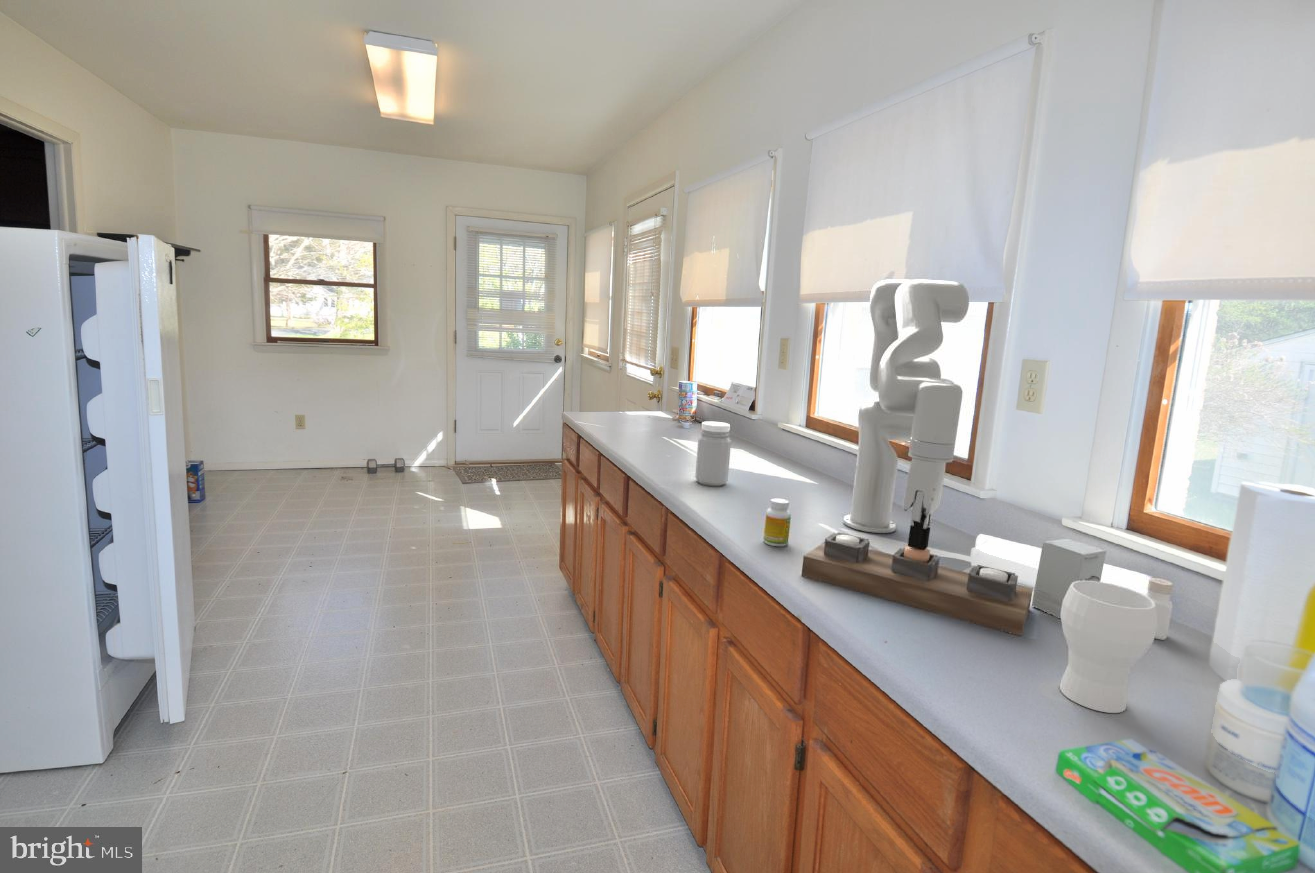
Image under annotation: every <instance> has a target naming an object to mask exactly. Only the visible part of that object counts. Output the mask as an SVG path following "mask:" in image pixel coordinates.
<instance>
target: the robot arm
mask: <svg viewBox="0 0 1315 873" xmlns="http://www.w3.org/2000/svg"><path fill="white" fill-rule="evenodd" d="M968 292H969V291H968V289H967V288H966V287H965V285H964V284H963V283H961V282H958V281H952V280H951V281H950V280H933V279H899V278H898V279H896V278H895V279H894V278H892V279H884V280H880V281H877V283H875V284H874V285H873V287H872V288H871V292H870V299H869V310H870V317H871V321H872V325H873V333H874V334H873V335H874V338H873V346H872V347H873V348H872V355H871V362H870V370H869V371H870V372H869V386H870V388H871V390H873V391H874V392H876V393H878V394H877V395H878V398H877V399H870V400H867V401H865V402H864V403H862V405H860V407H859V409H858V414H857V416H858V417H857V418H858V419H857V420H858V421H857V422H858V444H857V445H858V447H857V456H856V464H855V465H856V466H855V472H854V474H855V475H854V482H853V489H852V498H851V499H852V500H851V504H850V506H851V507H850V513H849V514H847V515H844V516H843V517H842V518H843V520H842V521H843V524H844V525H845V526H847V527H849V528H851V529H854V530H858V531H862V532H867V533H873V534H875V533H876V534H890V533H893V532H895V531H896V528H897V524H896V523H895V522H893V521H892V520H891V519H892V518H891V516H892V511H893V502H894V495H895V489H896V488H895V487H896V486H895V485H896V479H897V473H898V472H897V471H898V464H899V461H898V460H899V459H898V458H899V457H898V454H897V452H896V451H895V449H894V448H893V447H892V444H890V441H903V442H909V448H908V454H907V455H908V457H909V458H911V462H910V465H909V470H908V472H907V473H908V474H907V478H906V485H905V490H904V495H903V499H902V500H903V501H902V508H901V509H902V510H903V511H904V512H907V511H909V510H910V509H911V508H912V510H911V520H910V526H909V533H908V541H907V545H908V546H909V547H913V548H917V549H922V550H925V549H926V548H928V547H929V540H930V532H931V524H932V517H933V513H934V512H935V511H936V510H937V509H938V507H939V506H940V503H941V498H942V494H943V489H944V482H945V474H946V466H947V463H952V462H953V461H954V456H955V455H954V454H955V447H956V440H957V434H958V426H959V422H960V414H961V408H962V401H963V389H962V387H961V386H960V385H958V384H957V383H955V382H954V381H953V380H950V379H946V378H942V372H941V370H942V369H941V366H940V365H939V362H938V361H937V360H936V359H934V358H932V357H927V356H929V355H931V354H933V353H935V352H936V351H937V350H938V349H939V348H940V347H941V345H942V344H943V341H944V333H943V326H942V323H951V324H952V323H953V324H956V323H960V322H961V321H963V320H964V319H965V317H966V315H967V313H968V310H969V306H970V297H969V293H968Z"/></svg>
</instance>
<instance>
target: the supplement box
mask: <svg viewBox="0 0 1315 873" xmlns="http://www.w3.org/2000/svg"><path fill="white" fill-rule="evenodd" d="M1106 553H1107V550H1105V549H1102V548H1099V547H1097V546H1093V545H1090V544H1087V543H1084V542H1079V541H1077V540H1073V539H1070V538H1061V539H1055V540H1054V539H1053V540H1047V541H1043V542H1042V546H1041V552H1040V556H1039V561H1038V568H1037V573H1036V580H1035V586H1034V588H1033V594H1032V595H1033V596H1032V600H1031V605H1032V606H1034V607H1037V608H1039V609H1041V610H1043V611H1044V612H1043V611H1042V612H1043V613H1045V612H1047V613H1046V614H1047V615H1050V614H1052V615H1053V616H1052V615H1051V616H1052V617H1055V618H1057V619H1059V618H1060V619H1059V620H1061V615H1060V614H1061V608H1062V602H1063V599H1064V597H1065V595H1066V593H1067V591H1068V589H1069V587H1070V585H1071V584H1072V583H1073V582H1076V581H1097V582H1101V580H1102V574H1103V569H1104V564H1105V559H1106V555H1107V554H1106ZM1032 606H1031V607H1032ZM1034 607H1033V608H1034ZM1041 610H1040V611H1041Z"/></svg>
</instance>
